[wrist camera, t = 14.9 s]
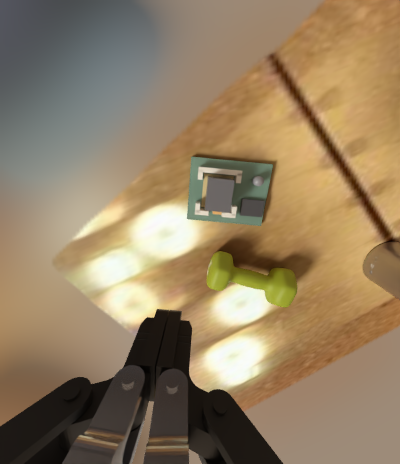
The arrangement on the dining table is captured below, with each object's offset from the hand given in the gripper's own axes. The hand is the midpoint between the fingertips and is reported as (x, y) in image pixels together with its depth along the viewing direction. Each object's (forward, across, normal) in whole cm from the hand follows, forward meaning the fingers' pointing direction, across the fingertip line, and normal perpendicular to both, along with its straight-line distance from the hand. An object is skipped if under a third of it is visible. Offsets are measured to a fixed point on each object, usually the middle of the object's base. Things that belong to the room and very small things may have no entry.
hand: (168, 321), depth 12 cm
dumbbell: (+27, -12, +11) cm, 32 cm away
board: (+27, -6, -5) cm, 28 cm away
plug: (+26, -4, -5) cm, 27 cm away
